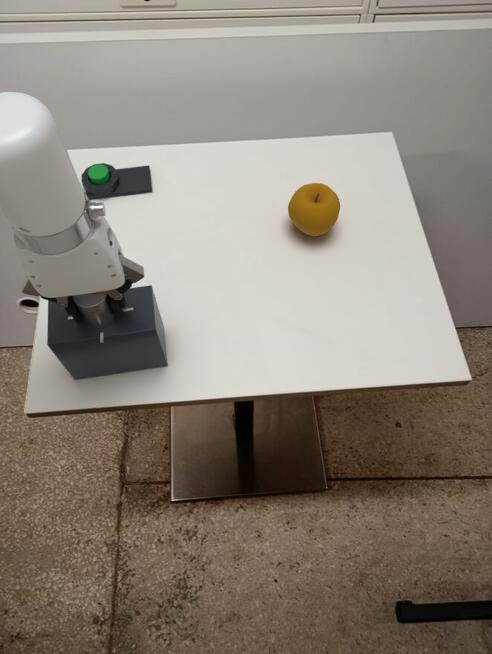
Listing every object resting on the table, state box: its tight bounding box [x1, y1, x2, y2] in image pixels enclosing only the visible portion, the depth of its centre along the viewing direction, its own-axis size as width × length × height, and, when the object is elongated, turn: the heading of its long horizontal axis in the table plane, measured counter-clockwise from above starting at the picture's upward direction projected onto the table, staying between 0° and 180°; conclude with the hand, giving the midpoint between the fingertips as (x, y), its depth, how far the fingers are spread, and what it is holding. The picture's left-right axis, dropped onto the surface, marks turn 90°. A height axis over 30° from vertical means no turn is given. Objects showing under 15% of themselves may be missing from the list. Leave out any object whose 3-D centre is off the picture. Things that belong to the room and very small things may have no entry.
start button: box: [88, 163, 110, 185], centre depth 91 cm, size 4×4×2 cm
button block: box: [81, 162, 153, 201], centre depth 92 cm, size 12×6×2 cm, turn 100°
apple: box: [287, 182, 341, 237], centre depth 85 cm, size 8×8×9 cm
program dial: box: [72, 291, 116, 328], centre depth 64 cm, size 4×4×6 cm
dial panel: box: [46, 284, 169, 381], centre depth 72 cm, size 14×9×12 cm, turn 100°
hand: (99, 310), depth 66 cm, fingers closed on program dial, 4 cm apart
